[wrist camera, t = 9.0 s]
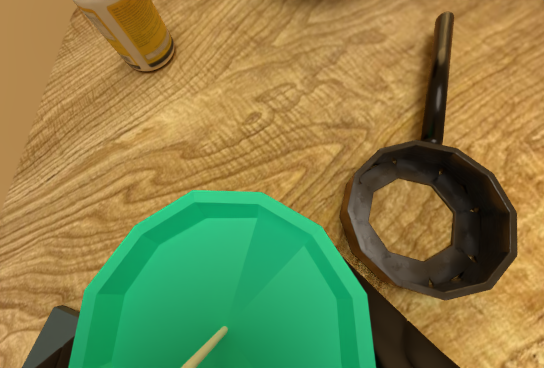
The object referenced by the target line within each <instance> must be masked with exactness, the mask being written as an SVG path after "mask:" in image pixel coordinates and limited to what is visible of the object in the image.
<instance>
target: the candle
mask: <svg viewBox="0 0 544 368" xmlns="http://www.w3.org/2000/svg"><path fill="white" fill-rule="evenodd" d="M68 368H376V364H375V355H374V347H373V339H372V331H371V323H370V315H369V307H368V299H367V294H366V292H365V291H364V289H363V288H362V286H361V285H360V283H359V282H358V280H357V279H356V277H355V276H354V274H353V273H352V271H351V270H350V268H349V267H348V265H347V264H346V262H345V261H344V259H343V258H342V256H341V255H340V253H339V252H338V250H337V249H336V247H335V246H334V244H333V243H332V241H331V240H330V238H329V237H328V235H327V234H326V232H325V231H324V229H323V228H322V226H320V225H318V224H316V223H315V222H313V221H311V220H309V219H308V218H306V217H304V216H302V215H301V214H299V213H297V212H296V211H294V210H292V209H290V208H289V207H287V206H285V205H283V204H282V203H280V202H278V201H276V200H275V199H273V198H271V197H269V196H268V195H266V194H264V193H262V192H239V191H206V190H192V191H190V192H189V193H187V194H186V195H184V196H182V197H181V198H179V199H177V200H176V201H174V202H173V203H171V204H169V205H168V206H166V207H164V208H163V209H161V210H159V211H158V212H156V213H155V214H153V215H151V216H150V217H148V218H146V219H145V220H143V221H142V222H140V223H138V224H137V225H135V226H134V227H133V229H132V230H131V231H130V232H129V234H128V235H127V236H126V238H125V239H124V240H123V241H122V243H121V244H120V245H119V247H118V248H117V249H116V250H115V252H114V253H113V254H112V256H111V257H110V258H109V259H108V261H107V262H106V263H105V265H104V266H103V267H102V268H101V270H100V271H99V272H98V274H97V275H96V276H95V277H94V279H93V280H92V281H91V283H90V284H89V285H88V286H87V288H86V289H85V291H84V295H83V300H82V305H81V310H80V314H79V319H78V324H77V329H76V333H75V338H74V343H73V348H72V353H71V357H70V362H69V367H68Z"/></svg>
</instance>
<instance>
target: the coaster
mask: <svg viewBox="0 0 544 368" xmlns="http://www.w3.org/2000/svg"><path fill="white" fill-rule="evenodd" d="M79 314H80V313H79V312H77V311H74V310H72V309H70V308H68V307H65V306H63V305H61V306H56V307H54V308H53V310H52V312H51V314H50V316H49V317H48V319H47V321H46V323H45V325H44V327H43V329H42V331H41V333H40V334H39V336H38V338H37V340H36V342H35V344H34V346H33V348H32V350H31V351H30V353H29V355H28V357H27V359H26V361H25V363H24V365H23V367H22V368H35V367H36V366H38V365H39V364H40V363H41V362H43V361H44V360H45V359H46V358H48V357H49V356H50V355H51V354H52V353H54V352H55V351H56V350H57V349H59V348H60V347H63V345H64V344H65V343H66V342H67V341H68V340H70V339H71V338H72V337H73V336H74V335H75V333H76V329H77V324H78V319H79Z"/></svg>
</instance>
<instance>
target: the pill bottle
mask: <svg viewBox="0 0 544 368" xmlns="http://www.w3.org/2000/svg"><path fill="white" fill-rule="evenodd" d="M73 1H74V2H75V3H76V5H77V6H78V7H79V8H80V9H81V11H82V12H83V13H84V14H85V15H86V16H87V18H88V19H89V20H90V21H91V22H92V23H93V24H94V26H95V27H96V28H97V29H98V30H99V31H100V33H101V34H102V35H103V36H104V37H105V38H106V39H107V41H108V42H109V43H110V44H111V45H112V46H113V48H114V49H115V50H116V51H117V52H118V53H119V55H120V56H121V57H122V58H123V59H124V60H125V62H126V63H127V64H128V65H129V66H131V67H132V68H134V69H136V70H139V71H152V70H156V69H158V68H160V67H162V66H163V65H165V64H166V63H167V62H168V61H169V60H170V59H171V57H172V55H173V53H174V41H173V39H172V37H171V35H170V33H169V31H168V30H167V28H166V26H165V24H164V22H163V21H162V19H161V17H160V15H159V13H158V12H157V10H156V8H155V6H154V4H153V3H152V1H151V0H73Z"/></svg>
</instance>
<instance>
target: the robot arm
mask: <svg viewBox="0 0 544 368" xmlns="http://www.w3.org/2000/svg"><path fill="white" fill-rule="evenodd" d="M342 258H343V257H342ZM343 259H344V258H343ZM344 261H345V262H346V264H347V265H348V267H349V268H350V270H351V271H352V273H353V274H354V276H355V277H356V279H357V280H358V282H359V283H360V285H361V286H362V288H363V289H364V291H365V292H366V294H367V299H368V307H369V315H370V323H371V331H372V339H373V347H374V355H375V364H376V368H460V367H459V366H458V365H457V364H455V363H454V362H453V361H452V360H451V359H450V358H448V357H447V356H446V355H445V354H444V353H443V352H441V351H440V350H439V349H438V348H437V347H436V346H435V345H434V344H433V343H432V342H431V341H429V340H428V339H427V338H426V337H425V336H424V335H423V334H422V333H421V332H420V331H419V330H418V329H417V328H416V327H415V326H414V325H412V324H411V323H410V322H409V321H407V319H406V318H405V317H404V316H403V315H402V314H401V313H400V312H399V311H398V310H397V309H396V308H395V307H394V306H393V305H392V304H391V303H390V302H389V301H387V300H386V299H385V298H384V297H383V296H382V295H381V294H380V293H379V292H378V291H377V290H376V289H375V288H374V287H373V286H372V285H371V284H370V283H369V282H368V281H367V280H366V279H365V278H364V277H363V276H362V275H361V274H359V273H358V272H357V271H356V270H355V269H354V268H353V267H352V266H351V265H350V264H349V263H348V262H347V261H346V260H345V259H344ZM74 338H75V335H74V336H73V337H72V338H71V339H70V340H68V341H67V342H66V343H65V344H64V345H63V347H60V348H59V349H57V350H56V351H55V352H54V353H52V354H51V355H50V356H49V357H48V358H46V359H45V360H44V361H43V362H41V363H40V364H39V365H38V366H36V367H35V368H68V367H69V362H70V357H71V353H72V348H73V343H74Z"/></svg>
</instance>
